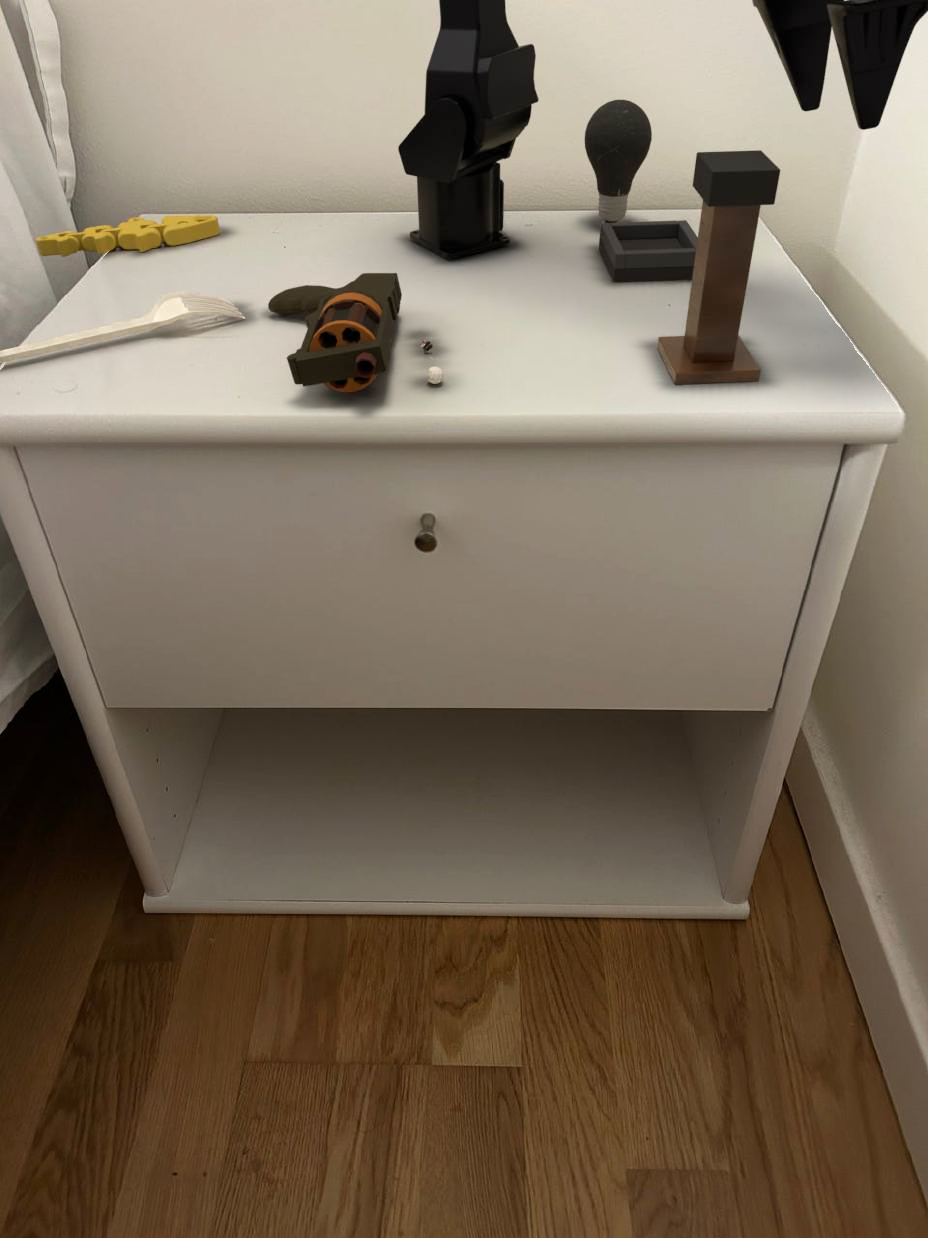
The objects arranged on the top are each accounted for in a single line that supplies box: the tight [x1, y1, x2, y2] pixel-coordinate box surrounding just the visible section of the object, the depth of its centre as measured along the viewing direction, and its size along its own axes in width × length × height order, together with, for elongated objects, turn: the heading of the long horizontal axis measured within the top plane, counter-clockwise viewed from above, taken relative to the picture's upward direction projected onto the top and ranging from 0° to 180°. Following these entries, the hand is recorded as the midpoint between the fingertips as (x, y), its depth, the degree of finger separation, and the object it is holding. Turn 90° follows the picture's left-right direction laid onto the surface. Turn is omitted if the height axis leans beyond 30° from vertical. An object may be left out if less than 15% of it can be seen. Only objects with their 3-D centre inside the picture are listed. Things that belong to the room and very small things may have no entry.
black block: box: [692, 149, 781, 207], centre depth 61 cm, size 4×4×2 cm
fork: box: [0, 291, 246, 364], centre depth 71 cm, size 3×20×2 cm, turn 120°
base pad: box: [598, 219, 698, 283], centre depth 82 cm, size 7×7×2 cm
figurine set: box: [417, 333, 444, 385], centre depth 69 cm, size 1×8×1 cm
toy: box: [35, 214, 221, 258], centre depth 87 cm, size 15×1×5 cm
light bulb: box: [584, 99, 653, 223], centre depth 87 cm, size 6×6×10 cm
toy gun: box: [267, 272, 403, 393], centre depth 69 cm, size 5×17×10 cm
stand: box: [656, 199, 762, 385], centre depth 65 cm, size 6×6×11 cm
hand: (837, 118), depth 64 cm, fingers open, 9 cm apart
